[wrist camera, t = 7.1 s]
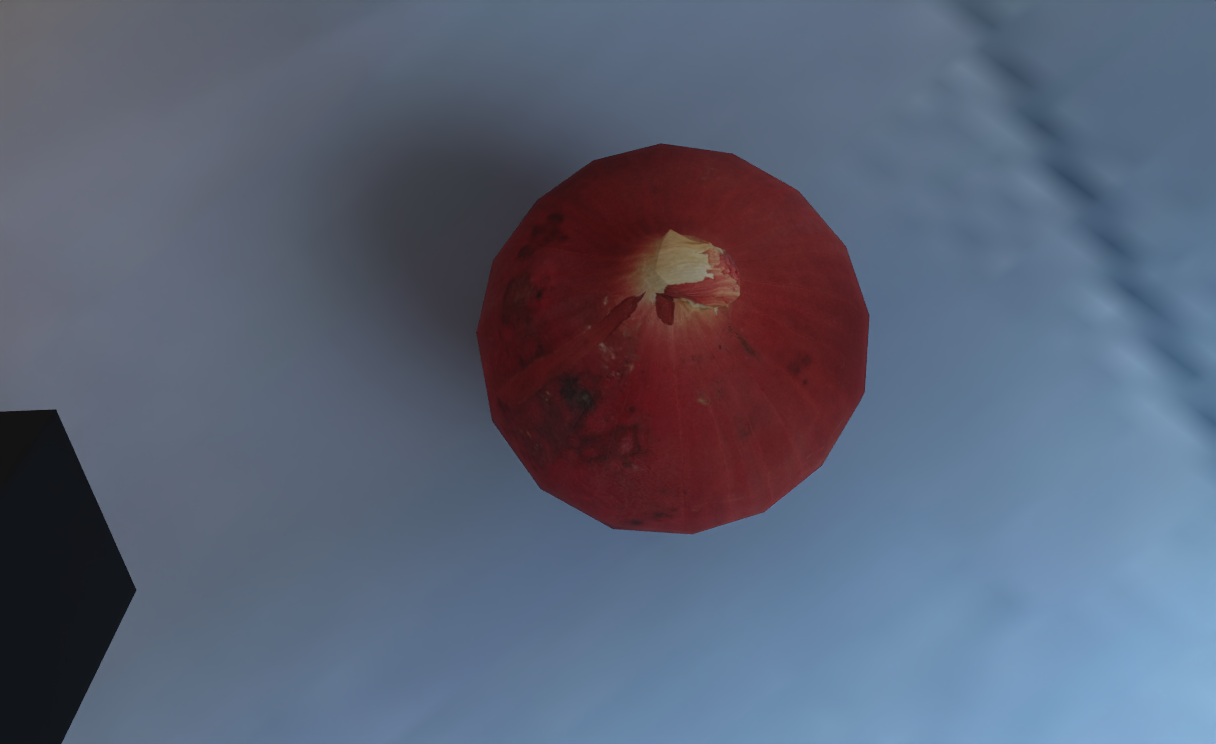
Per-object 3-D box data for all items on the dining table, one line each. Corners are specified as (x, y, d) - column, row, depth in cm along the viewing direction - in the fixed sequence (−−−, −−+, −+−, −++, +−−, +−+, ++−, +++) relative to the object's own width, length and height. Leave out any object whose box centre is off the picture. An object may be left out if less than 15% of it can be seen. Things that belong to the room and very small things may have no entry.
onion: (638, 602, 20) (618, 635, 12) (453, 351, 21) (322, 228, 13) (892, 408, 20) (1037, 315, 12) (699, 169, 21) (717, -60, 13)
